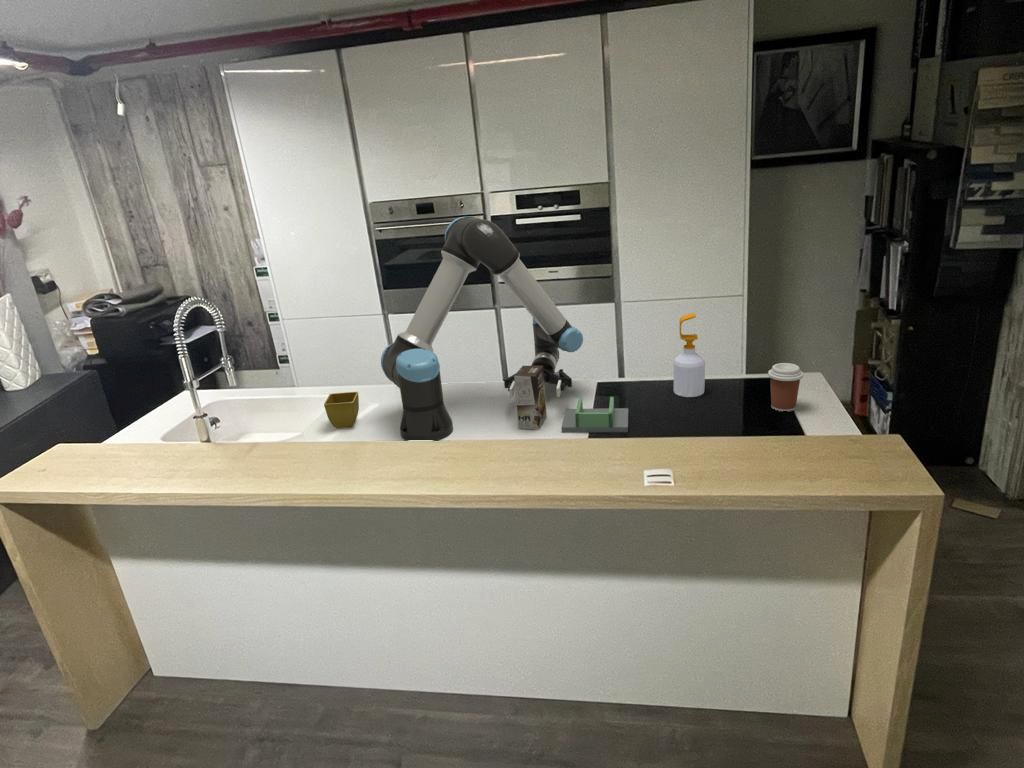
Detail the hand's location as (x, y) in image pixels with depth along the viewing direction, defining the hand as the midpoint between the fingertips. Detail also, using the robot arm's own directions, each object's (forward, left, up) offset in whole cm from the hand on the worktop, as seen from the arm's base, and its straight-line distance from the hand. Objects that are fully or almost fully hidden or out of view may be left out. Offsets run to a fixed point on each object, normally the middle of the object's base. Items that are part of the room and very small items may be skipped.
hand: (534, 393), depth 193 cm
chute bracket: (+17, -2, -8) cm, 19 cm away
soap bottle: (+44, +20, -9) cm, 49 cm away
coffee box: (-1, -2, -9) cm, 9 cm away
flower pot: (-58, -3, -9) cm, 58 cm away
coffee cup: (+69, +8, -9) cm, 70 cm away
